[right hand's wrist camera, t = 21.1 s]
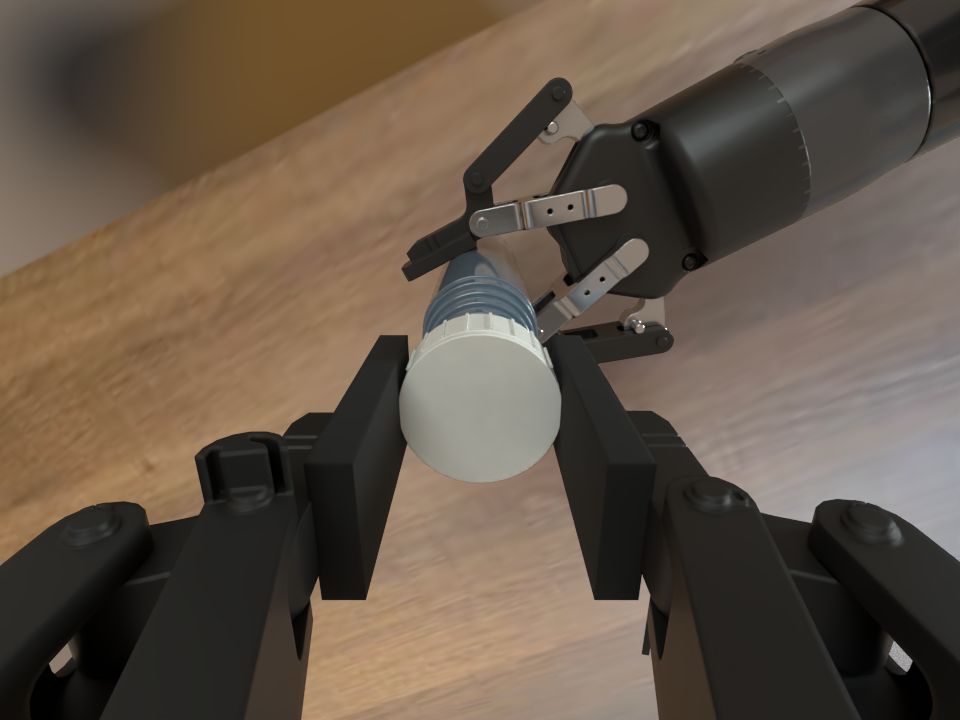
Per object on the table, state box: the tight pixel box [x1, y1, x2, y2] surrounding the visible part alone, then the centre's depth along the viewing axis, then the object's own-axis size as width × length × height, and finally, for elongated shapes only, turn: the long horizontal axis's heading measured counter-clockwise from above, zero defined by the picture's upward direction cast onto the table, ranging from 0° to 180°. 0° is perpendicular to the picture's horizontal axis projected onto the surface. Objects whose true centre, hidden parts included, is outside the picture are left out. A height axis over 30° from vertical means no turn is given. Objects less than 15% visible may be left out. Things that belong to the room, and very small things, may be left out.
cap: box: [399, 312, 561, 483], centre depth 14 cm, size 4×4×2 cm
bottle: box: [423, 235, 538, 340], centre depth 23 cm, size 4×4×20 cm
